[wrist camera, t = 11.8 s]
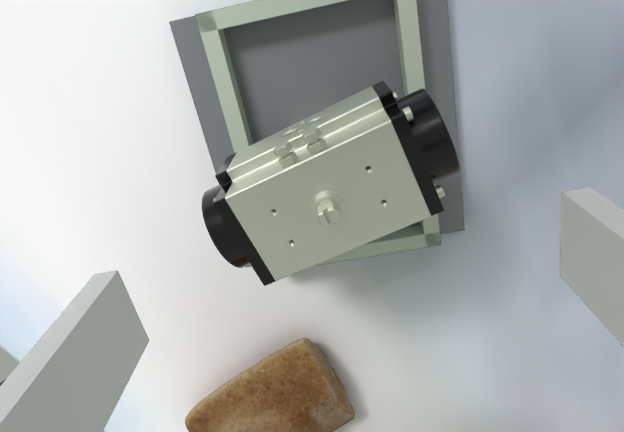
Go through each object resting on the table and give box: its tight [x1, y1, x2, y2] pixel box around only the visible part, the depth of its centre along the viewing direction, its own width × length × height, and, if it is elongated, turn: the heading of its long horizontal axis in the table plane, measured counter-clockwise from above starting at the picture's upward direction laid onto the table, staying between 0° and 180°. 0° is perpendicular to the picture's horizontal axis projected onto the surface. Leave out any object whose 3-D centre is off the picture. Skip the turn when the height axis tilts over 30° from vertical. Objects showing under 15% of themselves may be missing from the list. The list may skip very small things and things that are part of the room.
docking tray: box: [169, 0, 464, 267], centre depth 29 cm, size 17×16×2 cm
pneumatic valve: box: [202, 81, 460, 286], centre depth 24 cm, size 6×12×12 cm, turn 116°
